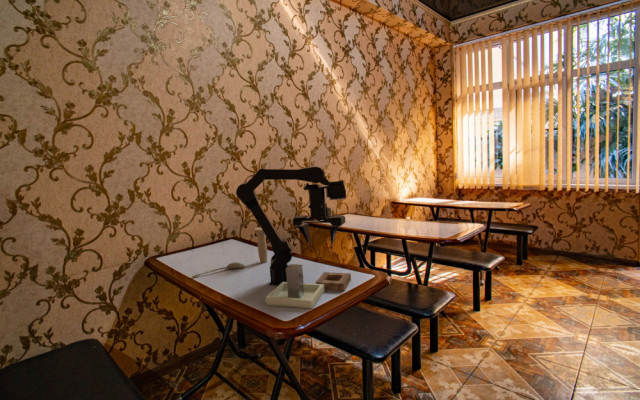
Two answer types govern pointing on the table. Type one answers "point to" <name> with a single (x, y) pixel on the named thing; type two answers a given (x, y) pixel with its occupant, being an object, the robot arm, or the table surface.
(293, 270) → the grey rectangular block
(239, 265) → the soupspoon
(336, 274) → the holder
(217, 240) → the table surface
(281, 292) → the tray
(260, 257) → the handle
